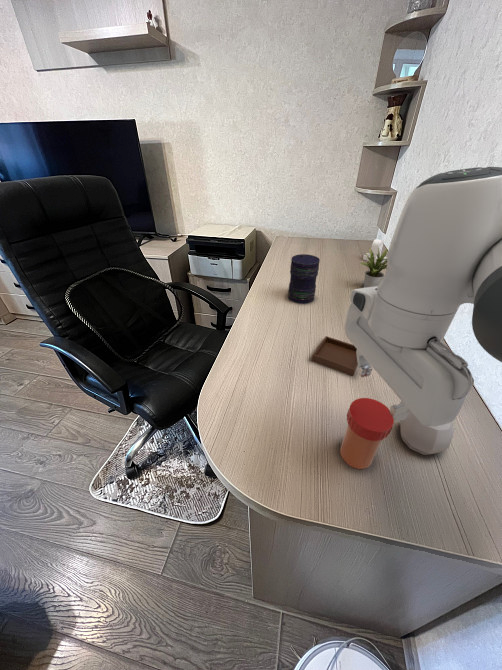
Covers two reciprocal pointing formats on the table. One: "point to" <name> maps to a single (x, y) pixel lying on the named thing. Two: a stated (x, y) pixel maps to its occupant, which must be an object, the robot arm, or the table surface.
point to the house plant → (374, 269)
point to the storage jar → (303, 278)
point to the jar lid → (369, 419)
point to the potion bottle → (425, 435)
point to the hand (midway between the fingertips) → (378, 393)
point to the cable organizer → (375, 250)
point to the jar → (358, 450)
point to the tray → (336, 355)
